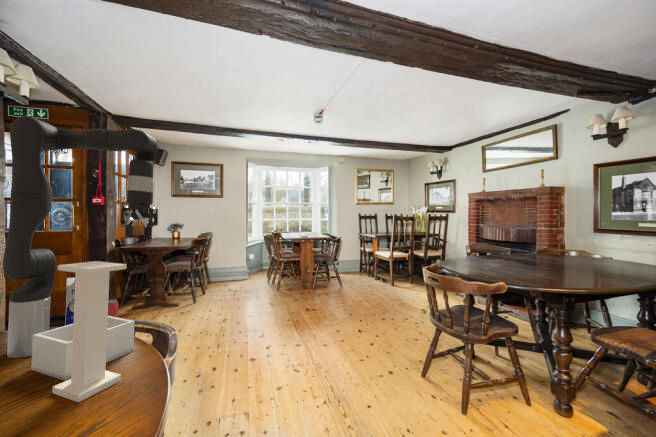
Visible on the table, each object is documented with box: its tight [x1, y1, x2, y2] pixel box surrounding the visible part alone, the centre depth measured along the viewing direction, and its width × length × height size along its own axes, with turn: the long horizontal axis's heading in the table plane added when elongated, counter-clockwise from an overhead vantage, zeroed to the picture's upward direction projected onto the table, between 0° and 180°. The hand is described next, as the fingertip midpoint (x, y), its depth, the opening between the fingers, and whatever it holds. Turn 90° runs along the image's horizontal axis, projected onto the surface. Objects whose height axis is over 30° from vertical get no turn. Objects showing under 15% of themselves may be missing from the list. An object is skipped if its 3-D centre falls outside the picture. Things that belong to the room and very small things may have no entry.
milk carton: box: [64, 277, 75, 326], centre depth 111 cm, size 7×7×20 cm
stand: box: [51, 260, 128, 403], centre depth 74 cm, size 12×10×32 cm
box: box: [30, 316, 136, 382], centre depth 88 cm, size 15×19×10 cm
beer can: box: [108, 298, 119, 318], centre depth 108 cm, size 7×7×12 cm
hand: (138, 237), depth 96 cm, fingers open, 8 cm apart
